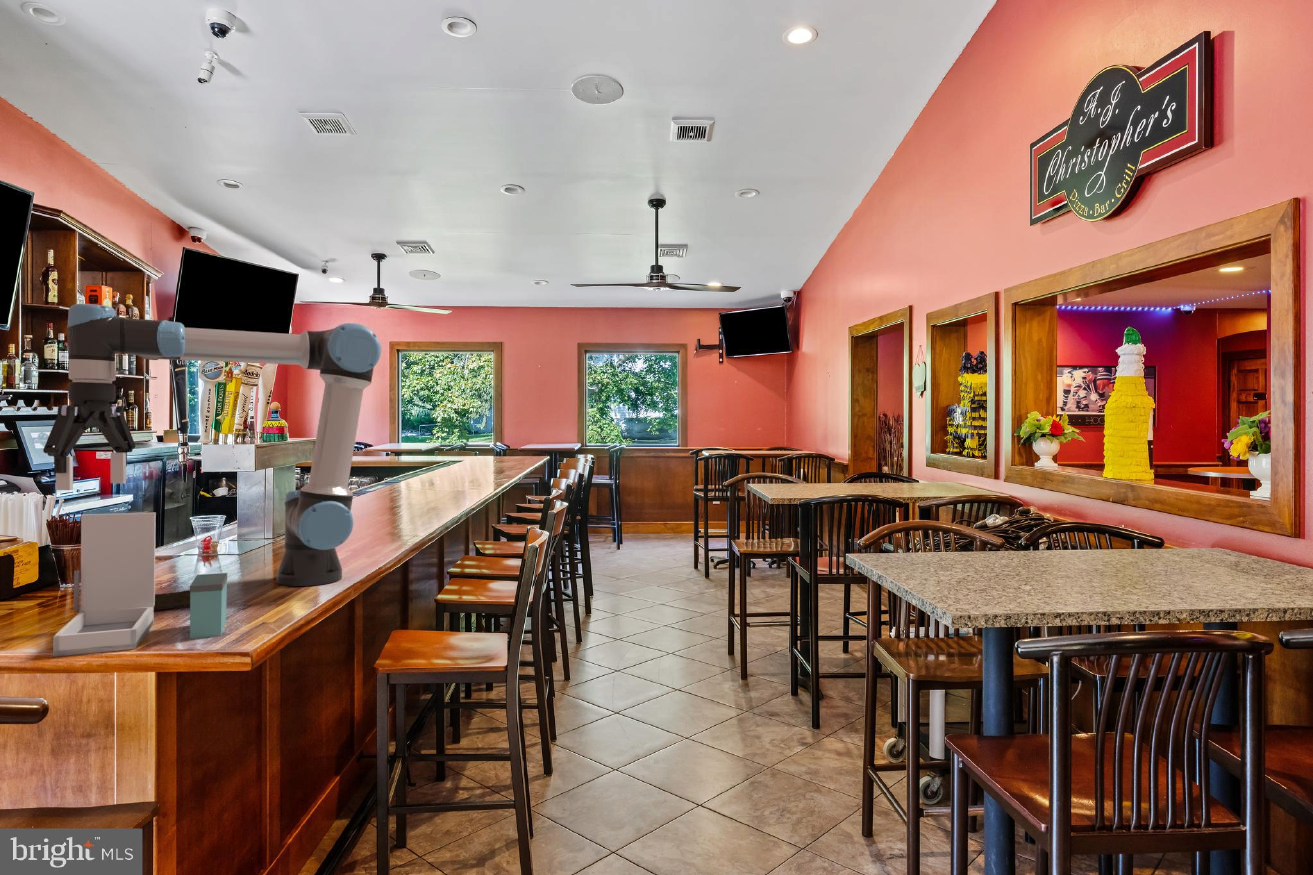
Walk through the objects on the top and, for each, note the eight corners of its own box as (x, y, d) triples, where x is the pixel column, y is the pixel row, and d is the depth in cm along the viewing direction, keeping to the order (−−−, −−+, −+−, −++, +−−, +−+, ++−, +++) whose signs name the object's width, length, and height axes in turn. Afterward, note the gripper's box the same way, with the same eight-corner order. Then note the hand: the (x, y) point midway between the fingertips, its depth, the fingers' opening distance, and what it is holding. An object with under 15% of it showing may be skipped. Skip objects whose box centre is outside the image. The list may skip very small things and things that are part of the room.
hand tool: (214, 602, 159) (214, 581, 159) (216, 606, 156) (216, 585, 156) (107, 615, 148) (107, 592, 147) (107, 619, 144) (107, 597, 144)
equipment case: (154, 622, 142) (155, 512, 142) (136, 648, 127) (137, 525, 126) (76, 628, 137) (76, 514, 136) (46, 657, 121) (47, 528, 121)
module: (226, 621, 144) (227, 572, 144) (221, 636, 135) (222, 583, 135) (196, 624, 142) (197, 574, 142) (189, 639, 133) (189, 586, 133)
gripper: (120, 384, 157) (121, 480, 157) (17, 378, 132) (18, 492, 132) (154, 384, 156) (154, 481, 157) (57, 379, 132) (58, 493, 132)
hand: (92, 486), depth 145 cm, fingers open, 13 cm apart
